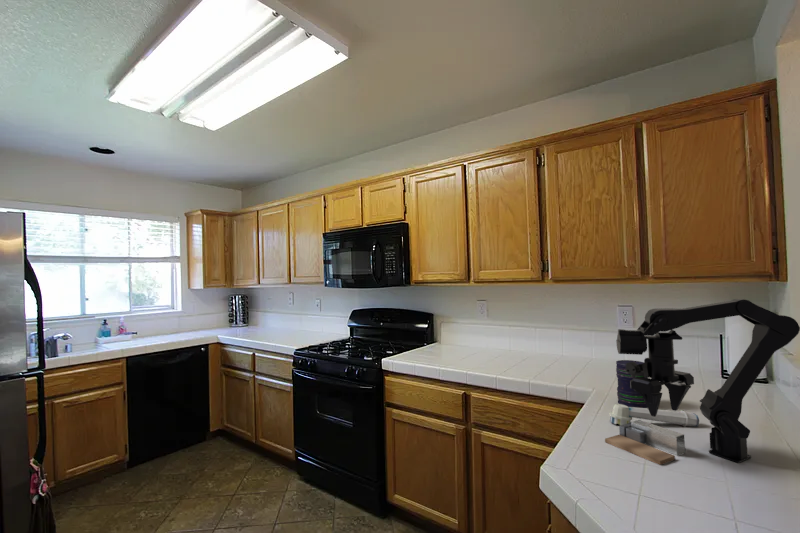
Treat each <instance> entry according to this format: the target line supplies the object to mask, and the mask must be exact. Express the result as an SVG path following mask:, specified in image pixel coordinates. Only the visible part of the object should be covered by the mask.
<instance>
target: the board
mask: <svg viewBox="0 0 800 533" xmlns="http://www.w3.org/2000/svg"><path fill="white" fill-rule="evenodd" d="M604 443H606V444H609V445H612V446H614V447H616V448H618V449H620V450H622V451H626V452H628V453H630V454H633V455H634V456H638V457H640V458H642V459H645V460H647V461H649V462H653V463H655V464H657V465H660V466H661V465H664V464H668V463H671V462H672V461H675V460H676V458H675V457H676V455H674V454H671V453H668V452H666V451H663V450H660V449H657V448H655V447H652V446H649V445H647V444H643V443H640V442H637V441H635V440H632V439H630V438H627V437H624V436H622V435H620V434H617V435H613V436H609V437H607V438H606V437H605V439H604Z"/></svg>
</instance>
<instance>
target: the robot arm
mask: <svg viewBox="0 0 800 533" xmlns="http://www.w3.org/2000/svg"><path fill="white" fill-rule="evenodd" d="M737 316H740V317H741V318H742V319H744V320H746V321H747V322H749V323H751V324H752V325H754V326H753V329H752V334H751V342H750V344H749V346H748V347H747V348H746V350H745V352H744V353H743V354H742V356H741V357H740V359H739V361H738V362H737V363H736V365H735V367H734V368H733V369H732V371H731V372H730V374H729V375H728V377H727V378H726V380H725V381H724V382H723V384H722V385H721V387H720V388H719V389H717V390H715V391H713V390H711V389H710V388H709V389H707V390H706V391H705V394H704V396H703V397H702V398H700V400H699V402H700V406H699V409H700V412H701V414H702V415H703V416H704V418H706V419H707V420H708V421H709V423H710V425H712V427H711V428H710V430H711V432H709V447H710V449H709V450H708V453H709V454H711V455H715V456H717V457H719V458H723V459H725V460H729V461H731V462H735V463H741V462H742V463H743V461H746V460H749V459H751V458H752V455H751V454H749V453H748V441H747V440H748V438H749V436H750V433H751V430H750V429H749V428H748V427H747V426H746V425H744V423H742V422H741V421H740V420H739V418H740V416H741V414H742V410H743V408H742V407H743V405H742V404H743V399H744V398H745V396H746V395H747V393H748V392H749V390H750V389H751V388H752V386H753V385H754V383H755V381H756V380H757V378H758V377H759V376H760V374H761V373H762V371H763V370H764V368H765V367H766V366H767V364H768V363H769V361H770V359H771V358H772V356H773V355H774V353H776V352H777V351H778V350H780V349H783V347H785V346H788V345H789V344H790V343H791V342H792V341H793V340H794V339H795V337H797V336H798V335H799V333H800V325H799V322H798V321H797V320H796V319H795V318H793V317H791V316H787V315H782V314H777V313H775V312H773V311H771V310H768V309H767V308H764V307H762V306H760V305H757V304H755V303H754V302H752V301H750V300H748V299H745V298H744V299H743V298H734V299H732V300H727V301H721V302H714V303H708V304H703V305H695V306H691V307H686V308H685V307H683V308H673V307H672V308H670V307H669V308H668V307H665V308H659V307H658V308H652V309H649V310H647V312H646V313H645V316H644V320H643V322H642V323H641V324H640V326H638V328H637V329H636V330H635V329H634V330H633V329H622V328H621V329H620V328H619V329H617V338H616V341H615V342H616V350H617V353H618V355H619V354H620V355H643V354H644V353H646V352H648V357H645V358H644V361H643V362H644V363H643V364H638V365H637V364H636V363H635V362H629V363H626V372H627V373H628V374H631V377H635V376H641V375H644V377H637V378H633V379H632V380H631V381H630V386H631V389H634V390H635V391H636V392H639V393H640V394H641V395H642V396H643V398H644V400H645V402H646V405H647V407H648V408H647V409H648V410H649V412H650V414H651V416H654V417H656V415H657V412H658V410H659V408H660V404H661V400H662V395H663V392H661V391H662V388H663V385H664V386H665V387H666V389H667V390H668V396H669V403H670V407H671V411H678V409H679V407H680V405H681V404H682V402H683V400H684V398H685V396H686V395H687V393H688V392H689V390H690V389H691V388H692V386H693V385H694V384H695V380H694V376H693V375H692V374H691V373H690V372H685V371H684V372H683V371H680V370H676V369H675V365H678V364H679V360H678V359H675V353H674V352H675V351H674V340H675V341H676V340H677V341H679V340H680V341H681V340H683V337H682V336H681V335H680V334H678V333H677V332H676V330H674V329H679V328H680V327H681V328H682V327H683V326H685V325H688V324H691V323H698V322H704V321H711V320H717V319H723V318H725V319H726V318H731V317H737ZM647 350H648V351H647ZM645 377H647V378H645Z"/></svg>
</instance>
